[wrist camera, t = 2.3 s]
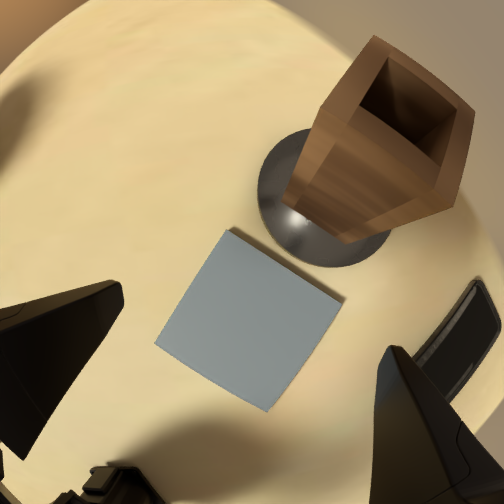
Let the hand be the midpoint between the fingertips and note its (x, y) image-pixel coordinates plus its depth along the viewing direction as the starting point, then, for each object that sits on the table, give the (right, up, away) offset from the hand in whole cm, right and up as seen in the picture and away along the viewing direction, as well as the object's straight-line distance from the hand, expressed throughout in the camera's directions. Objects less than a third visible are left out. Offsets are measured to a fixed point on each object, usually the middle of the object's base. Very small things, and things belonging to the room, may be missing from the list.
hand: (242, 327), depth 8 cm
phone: (+19, -8, +12) cm, 24 cm away
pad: (0, -3, +12) cm, 12 cm away
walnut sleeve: (+6, +7, +12) cm, 15 cm away
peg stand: (+6, +7, +13) cm, 16 cm away
